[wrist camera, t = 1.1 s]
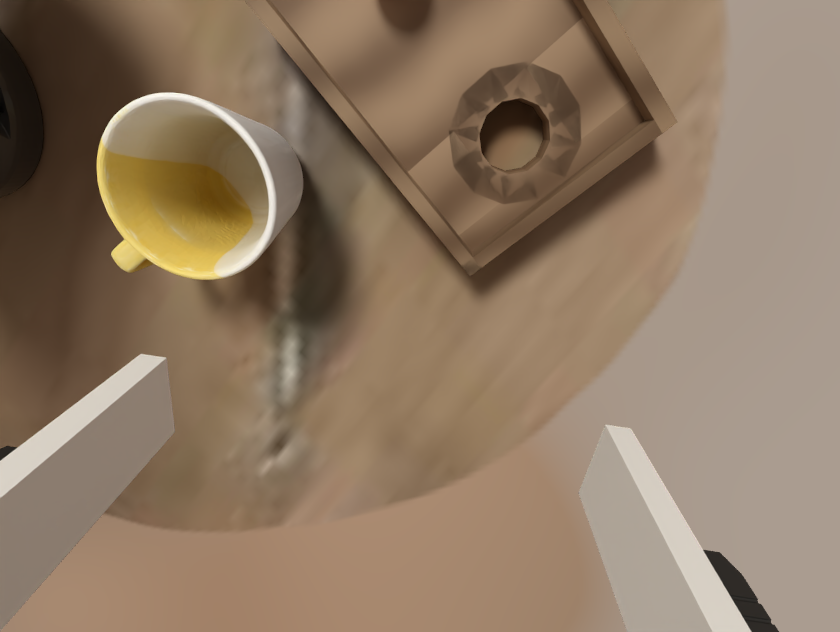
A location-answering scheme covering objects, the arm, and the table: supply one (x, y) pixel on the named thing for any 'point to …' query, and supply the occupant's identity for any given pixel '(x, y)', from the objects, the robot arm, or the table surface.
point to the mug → (194, 186)
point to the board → (476, 101)
